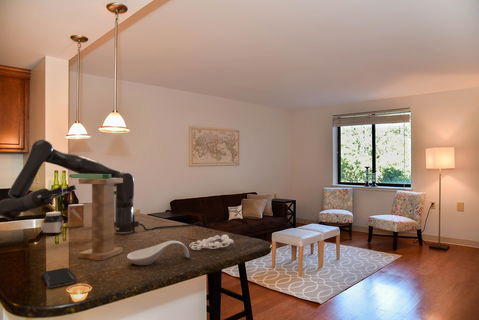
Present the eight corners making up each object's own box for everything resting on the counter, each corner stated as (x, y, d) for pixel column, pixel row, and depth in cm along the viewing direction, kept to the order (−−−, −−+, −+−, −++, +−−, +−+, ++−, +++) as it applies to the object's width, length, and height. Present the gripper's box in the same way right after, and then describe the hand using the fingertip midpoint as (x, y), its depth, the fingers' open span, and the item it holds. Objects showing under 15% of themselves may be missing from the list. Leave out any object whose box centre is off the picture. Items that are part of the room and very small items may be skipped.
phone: (67, 267, 115) (76, 279, 103) (67, 270, 115) (76, 282, 103) (41, 272, 110) (48, 285, 98) (41, 275, 110) (48, 288, 98)
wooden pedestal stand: (76, 257, 131) (76, 178, 132) (98, 249, 143) (98, 177, 143) (104, 260, 127) (104, 179, 127) (124, 252, 138) (124, 178, 139)
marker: (68, 178, 140) (68, 173, 140) (72, 177, 141) (72, 173, 141) (108, 178, 133) (108, 174, 133) (111, 178, 135) (111, 174, 135)
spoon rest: (128, 270, 116) (128, 250, 116) (125, 261, 126) (125, 242, 126) (192, 261, 126) (192, 242, 126) (184, 253, 136) (184, 236, 136)
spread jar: (54, 236, 169) (54, 214, 169) (33, 236, 170) (33, 214, 170) (67, 231, 181) (67, 210, 181) (47, 231, 182) (47, 210, 182)
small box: (69, 227, 192) (69, 205, 192) (68, 225, 197) (68, 204, 197) (84, 226, 196) (84, 204, 196) (82, 224, 201) (82, 203, 202)
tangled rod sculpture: (193, 256, 136) (192, 246, 136) (186, 245, 150) (186, 236, 149) (236, 250, 142) (236, 241, 142) (226, 240, 156) (226, 232, 156)
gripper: (22, 193, 138) (54, 181, 135) (47, 189, 152) (76, 178, 149) (27, 209, 138) (59, 198, 135) (52, 204, 152) (81, 194, 149)
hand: (68, 188), depth 142 cm, fingers open, 8 cm apart
